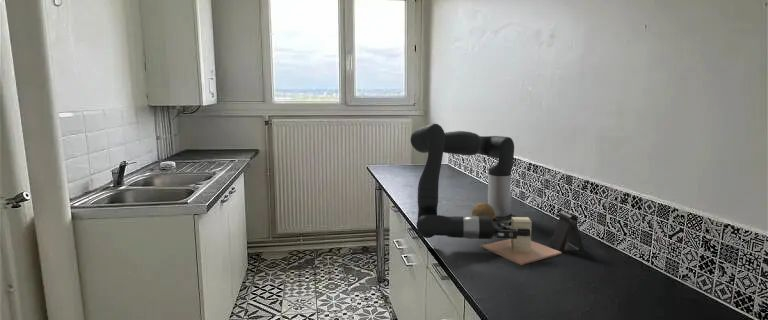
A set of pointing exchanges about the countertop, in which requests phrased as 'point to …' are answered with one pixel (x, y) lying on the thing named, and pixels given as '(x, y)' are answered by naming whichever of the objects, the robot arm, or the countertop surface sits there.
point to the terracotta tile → (519, 257)
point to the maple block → (522, 241)
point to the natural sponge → (483, 210)
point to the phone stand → (566, 234)
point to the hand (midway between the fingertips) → (527, 228)
